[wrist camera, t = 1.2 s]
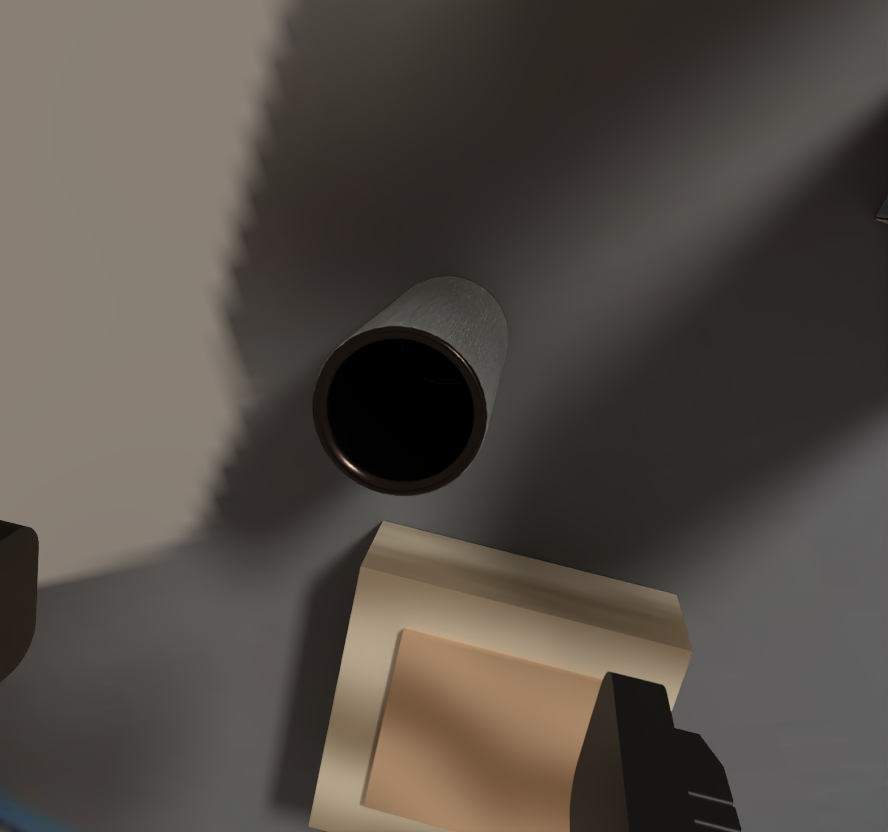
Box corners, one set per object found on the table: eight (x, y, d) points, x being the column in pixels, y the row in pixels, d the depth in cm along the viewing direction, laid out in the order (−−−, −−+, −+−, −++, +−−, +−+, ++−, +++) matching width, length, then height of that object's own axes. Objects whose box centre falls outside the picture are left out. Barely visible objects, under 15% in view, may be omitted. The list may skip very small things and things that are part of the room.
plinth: (383, 520, 33) (358, 570, 28) (676, 594, 32) (694, 656, 28) (334, 758, 36) (306, 832, 32) (596, 828, 36) (601, 914, 31)
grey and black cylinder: (407, 406, 31) (341, 513, 21) (374, 292, 30) (287, 349, 20) (522, 379, 30) (507, 478, 20) (491, 261, 29) (461, 305, 19)
